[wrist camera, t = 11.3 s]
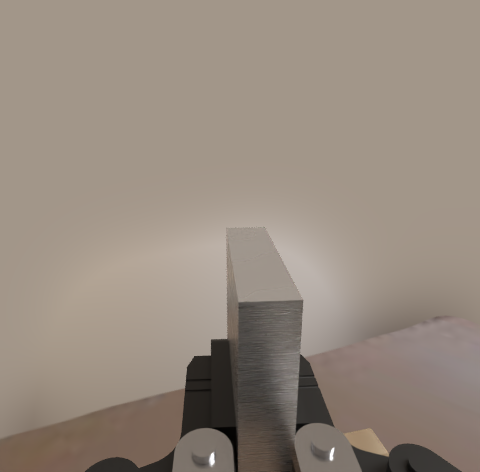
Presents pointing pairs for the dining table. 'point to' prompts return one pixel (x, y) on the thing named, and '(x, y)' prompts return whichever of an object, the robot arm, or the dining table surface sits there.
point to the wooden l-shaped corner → (366, 441)
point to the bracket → (262, 350)
